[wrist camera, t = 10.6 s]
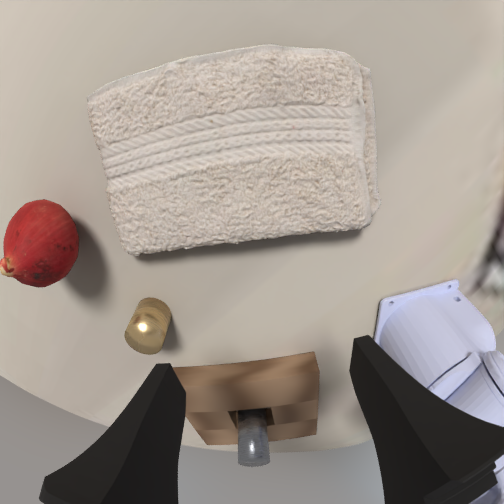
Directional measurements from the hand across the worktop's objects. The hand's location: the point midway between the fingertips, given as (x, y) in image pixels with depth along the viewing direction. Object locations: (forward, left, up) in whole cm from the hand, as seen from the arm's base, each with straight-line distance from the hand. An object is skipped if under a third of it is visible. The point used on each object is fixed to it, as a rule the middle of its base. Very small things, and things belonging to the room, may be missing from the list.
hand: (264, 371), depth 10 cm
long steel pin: (+3, +18, -10) cm, 21 cm away
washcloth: (0, -7, -11) cm, 13 cm away
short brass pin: (+9, +4, -10) cm, 14 cm away
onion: (+14, -5, -11) cm, 18 cm away
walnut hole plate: (+3, +18, -10) cm, 21 cm away
